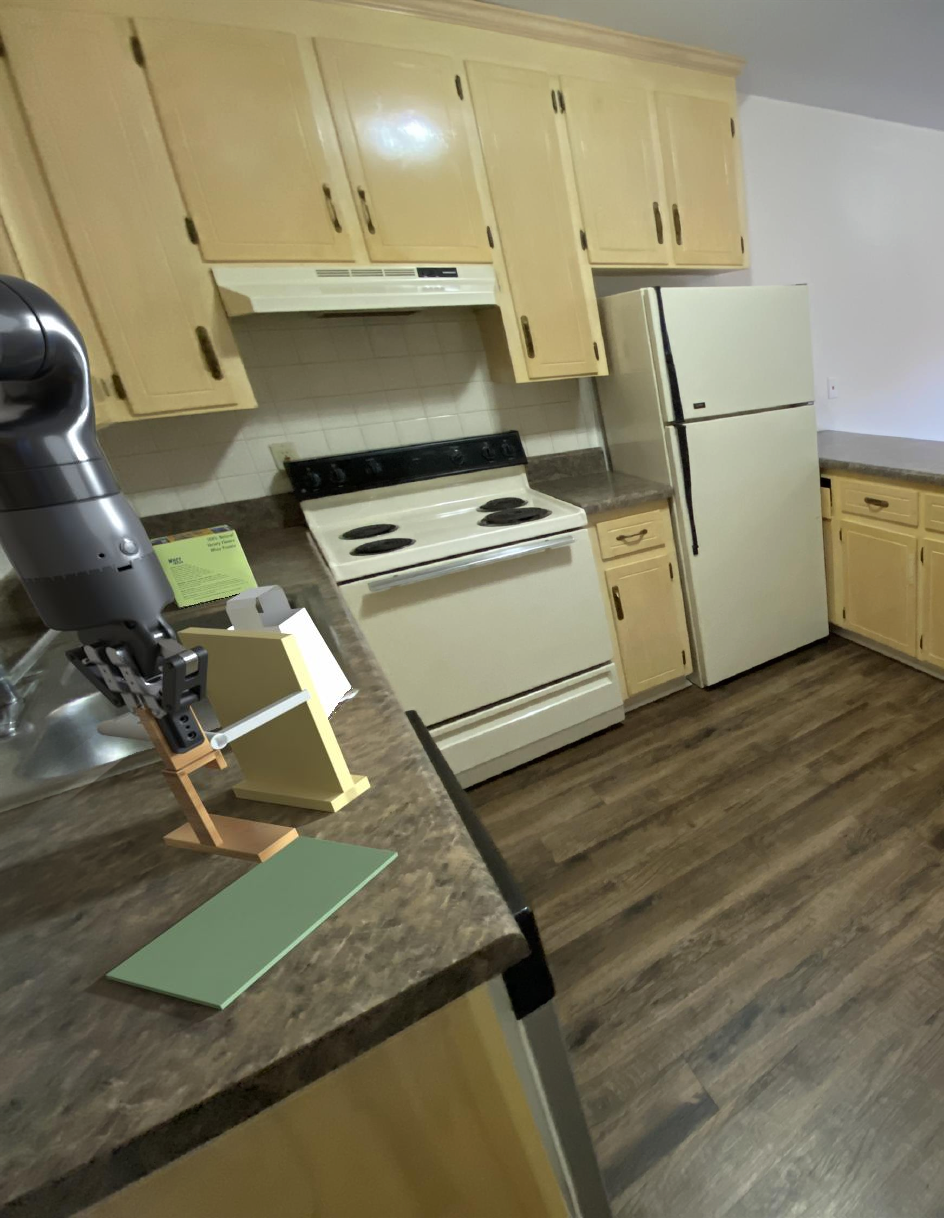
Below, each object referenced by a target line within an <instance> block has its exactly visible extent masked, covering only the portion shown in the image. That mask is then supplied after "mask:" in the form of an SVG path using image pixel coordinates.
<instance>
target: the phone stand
mask: <svg viewBox="0 0 944 1218" xmlns="http://www.w3.org/2000/svg"><path fill="white" fill-rule="evenodd" d="M161 699H162V697H161ZM190 709H191V711H192V713H193V715H194V717H195V719H196V721H197V723H198V725H199V727H200V729H201V731H202V733H203V735H204V737H205V741H204V743H203V744H201V745H200V746H198V747H196V748H194V749H192V750H190V751H188V752H186V753H184V754H178V753H173V752H172V751H171V749H170V747H169V745H168V743H167V741H166V739H165V737H164V735H163V733H162V732H161V730H160V728H159V726H158V724H157V722H156V720H155V718H156V717H155V716H154V715H153V714H152V713H151V711H150V709H149V707H148V705H147V704H146V705H143V706H141V707H139V708H137V709H135V711H136V713H137V715H138V717H139V719H140V720H141V721H140V723H141V724H143V726H144V728H145V730H146V731H147V733H148V735H149V737H150V739H151V741H150V742H151V743H152V745H153V746H154V748H155V750H156V752H157V753H158V756H159V757H160V760H161V761H162V763H163V765H164V766H165V767H164V768H163V769H161V770H160V773H161V774H162V776H163V778H164V779H165V781H166V783H167V785H168V787H169V789H170V790H171V792H172V794H173V796H174V798H175V799H176V802H177V803H178V805H179V808H180V809H181V810H182V813H183V814H184V816H185V818H186V820H187V822H185V823H184V824H182V825H180V826H179V827H178V828H176V829H173V831H171V832H169V833H167V834H166V835H165V836H163V837H162V839H163V840H164V842H165V844H166V846H168V847H173V848H178V849H179V848H180V849H184V850H189V851H195V852H201V853H205V854H206V853H207V854H211V855H215V856H221V857H227V858H232V859H238V860H242V861H247V862H251V863H252V862H253V863H258V864H260V863H263V862H265V861H266V860H267V859H269V858H270V857H271V856H273V855H274V854H275V853H277V852H278V851H280V850H281V849H282V848H284V847H285V846H286V845H288V844H289V843H290V842H292V841H293V840H294V839H296V838H297V837H298V836H299V834H298V832H297V830H296V828H295V827H289V826H283V825H278V824H272V823H265V822H259V821H253V820H249V819H243V818H242V819H241V818H237V817H230V816H224V815H218V814H212V813H208V811H207V809H206V808H205V806H204V804H203V802H202V800H201V798H200V797H199V794H198V793H197V790H196V789H195V787H194V786H193V784H192V782H191V779H190V778H189V776H188V775H189V774H190V773H192V772H193V771H196V770H197V769H200V768H201V767H203V766H204V767H205V768H206V769H211V770H212V769H213V770H218V771H222V770H224V769H225V768H227V767H228V764H227V761H226V760H225V758H224V756H223V754H222V752H221V749H212V747H211V745H210V743H209V741H208V739H207V737H206V735H205V733H204V730H203V728H202V726H201V724H200V722H199V720H198V718H197V715H196V714H195V712H194V710H193V708H192V706H191V705H190Z"/></svg>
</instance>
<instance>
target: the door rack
mask: <svg viewBox="0 0 944 1218" xmlns="http://www.w3.org/2000/svg"><path fill="white" fill-rule="evenodd" d="M176 634H177V636H178V639H179V640H180V642H181V645H182V646H184V647H185V648H187V649H191V648H193V647H196V646H202V647H203V648H205V650H206V651H207V653H208V669H207V684H206V698H207V699H208V702H209V704H210V706H211V708H212V710H213V713H214V715H215V716H216V719H217V720H218V723H219V725H220V727H221V729H220V730H219V731H217V732H211V731H206V730H205V731H204V730H203V731H204V733H205V735H206V737H207V739H208V741H209V743H210V745H211V747H212V749H219V750H221V749H223V748H225V747H226V746H227V744H229V746H230V748H231V750H232V752H233V754H234V756H235V759H236V760H237V763H238V765H239V767H240V769H241V771H242V773H243V775H244V778H245V779H243V780H241V781H240V782H238V783H237V784H235V785H233V786H231V789H232V791H233V793H234V795H235V797H236V798H237V799H243V800H250V801H257V802H263V803H268V804H275V805H281V806H289V807H295V808H303V809H308V810H316V811H321V812H328V813H334V814H335V813H337V812H338V811H340V810H341V809H342V808H344V807H345V806H347V805H348V804H350V802H353V800H355V799H356V798H358V797H359V796H360V795H362V794H363V793H365V792H366V791H367V790H368V789H370V788H371V784H370V782H369V779H368V776H365V775H359V774H351V773H350V771H349V768H348V765H347V762H346V760H345V757H344V756H343V753H342V750H341V748H340V746H339V743H338V741H337V738H336V736H335V733H334V730H333V728H332V726H331V723H330V719H329V720H328V718H327V716H326V713H325V711H324V708H323V706H322V703H321V701H320V698H319V696H318V693H317V691H316V688H315V686H314V683H313V681H312V678H311V676H310V673H309V671H308V668H307V666H306V663H305V661H304V658H303V656H302V653H301V651H300V648H299V646H298V643H297V641H296V638H295V636H294V634H291V633H275V632H258V631H242V630H227V628H208V627H207V628H206V627H191V626H189V627H188V628H185V629H182V630H179V631H177V632H176ZM96 727H97V728H96V731H97V733H98V734H99V735H101V736H105V737H106V736H107V737H116V738H122V739H130V740H138V741H144V742H146V741H147V742H152V741H151V739H150V737H149V735H148V733H147V731H146V730H145V728H144V726H143V724H142V723H141V720H140V719H139V717H138V716H135V715H133V714H132V713H131V712H130V711H128V712H126V713H124V714H121V715H119V716H116V717H115V718H111V719H106V720H103V721H101V722H100V723H99V724H98V725H97V726H96Z"/></svg>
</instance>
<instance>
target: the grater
mask: <svg viewBox="0 0 944 1218" xmlns="http://www.w3.org/2000/svg"><path fill="white" fill-rule="evenodd" d="M257 600H258V602H259V605H260V607H261V609H262V611H263V612H258V610H257V607H256V606H257ZM225 612H226V613H227V614H226V615H227V617H228V618H229V621H230V623H231V625H232V626H230V627H228V628H226V630H242V631H258V632H275V633H291V634H294V636H295V638H296V641H297V643H298V646H299V648H300V651H301V653H302V656H303V658H304V661H305V663H306V666H307V668H308V671H309V673H310V676H311V678H312V681H313V683H314V686H315V688H316V691H317V693H318V696H319V698H320V701H321V703H322V706H323V708H324V711H325V713H326V716H327V718H328V717H329V716H330V714H331V713H332V711H334V709H335V707H336V706H337V705H338V703H339V702H340V699H341V698H342V697H343V696H344V694H345V693H346V692H347V691H349V690H350V689H351V687H352V686H351V684H350V682H349V681H348V679H347V677H346V676H345V673H344V672H343V670H342V669H341V666H340V665H339V664H338V662H337V660H336V659H335V657H334V655H333V653H332V652H331V650H330V649H329V647H328V645H327V644H326V642H325V640H324V638H323V637H322V635H321V634H320V632H319V630H318V628H317V626H316V625H315V623H314V622H313V620H312V618H311V616H310V615H309V613H308V611H307V610H306V608H305V607H297V608H291V605H290V603H289V601H288V598H287V596H286V593H285V591H284V588H282V587H281V586H280V585H278V584H273V585H272V584H271V585H265V586H258V587H255V588H249V589H247V590H246V591H244V592H242V593H240V594H239V595H236V596H232V597H231V598H230V599H228V600H226V605H225Z"/></svg>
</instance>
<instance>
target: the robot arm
mask: <svg viewBox="0 0 944 1218" xmlns="http://www.w3.org/2000/svg"><path fill="white" fill-rule="evenodd" d="M96 421H97V420H96V408H95V401H94V395H93V384H92V375H91V367H90V359H89V354H88V349H87V345H86V342H85V339H84V337H83V334H82V332H81V330H80V329H79V327H78V324H77V323H76V321H75V320H74V319H73V318H72V316H71V314H70V313H69V312H68V311H67V310H66V309H65V307H64V306H63V305H62V304H61V303H60V302H59V301H58V299H55V298H54V297H53V295H52V294H50V293H48V292H47V291H46V290H44V289H43V288H42V287H41V286H39V285H37V284H35V283H33V282H31V281H28V280H26V279H23V278H21V277H19V276H13V275H9V274H3V273H0V547H1V549H2V550H3V552H4V554H5V556H6V558H7V559H8V561H9V563H10V565H11V567H12V569H13V570H14V572H15V574H16V576H17V578H18V579H19V581H20V583H21V585H22V586H23V589H24V590H25V592H26V593H27V596H28V597H29V600H30V601H31V603H32V605H33V606H34V609H35V610H36V611H37V614H38V615H39V617H40V619H41V622H42V623H43V624H44V626H45V627H46V628H47V629H50V630H53V631H55V632H56V631H58V632H76V636H77V638H78V641H79V642H80V643H81V644H80V645H79V646H77V647H73V648H70V649H68V650H66V651H65V652H64V653H65V657H66V659H67V660H68V661H69V663H71V664H72V665H73V666H74V667H75V668H76V669H77V670H78V671H79V672H80V673H81V675H83V676H84V677H85V678H86V679H87V680H88V681H89V682H90V683H91V684H92V686H94V687H95V688H96V689H97V690H98V691H99V692H100V693H101V694H102V696H103V697H105V698H106V699H107V701H109V702H110V704H112V705H113V706H114V707H116V708H117V709H120V708H123V707H125V706H126V707H127V709H128V712H131V713H132V714H133V715H135V716H138V715H137V713H136V711H135V709H137V708H139V707H141V706H143V705H146V704H147V705H148V707H149V709H150V711H151V713H152V714H153V715H154V716H155V717H156V718H155V720H156V722H157V724H158V726H159V728H160V730H161V732H162V733H163V735H164V737H165V739H166V741H167V743H168V745H169V747H170V749H171V751H172V752H173V753H178V754H184V753H186V752H188V751H190V750H192V749H194V748H196V747H198V746H200V745H201V744H203V743H204V741H205V737H204V735H203V733H202V731H201V729H200V727H199V725H198V723H197V721H196V719H195V717H194V715H193V713H192V711H191V709H190V706H191V705H194V704H195V703H198V702H201V701H203V700H206V698H207V695H206V684H207V669H208V653H207V651H206V650H205V648H203V647H202V646H196V647H193V648H191V649H187V648H185V647H184V646H183V645H182V643H179V642H178V641H177V635H176V634H177V633H176V631H175V630H174V629H173V627H171V625H170V624H169V623H168V622H167V621H166V619H165V617H164V616H163V615H162V614H163V613H162V612H163V610H164V608H165V607H166V606H170V604H172V602H173V600H174V598H175V594H174V591H173V589H172V587H171V585H170V583H169V581H168V578H167V576H166V574H165V572H164V570H163V568H162V566H161V563H160V561H159V559H158V557H157V555H156V553H155V551H154V548H153V546H152V544H151V542H150V540H151V539H150V538H149V536H148V534H147V531H146V529H145V527H144V525H143V523H142V521H141V519H140V517H139V516H138V514H137V513H136V510H135V509H134V508H133V506H132V505H131V504H130V503H129V500H128V499H127V497H126V496H125V493H124V492H123V491H122V488H121V486H120V484H119V481H118V479H117V478H116V475H115V473H114V471H113V469H112V466H111V464H110V462H109V459H108V458H107V456H106V453H105V451H104V450H103V447H102V446H101V444H100V441H99V438H98V434H97V422H96ZM161 697H162V699H161Z"/></svg>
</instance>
